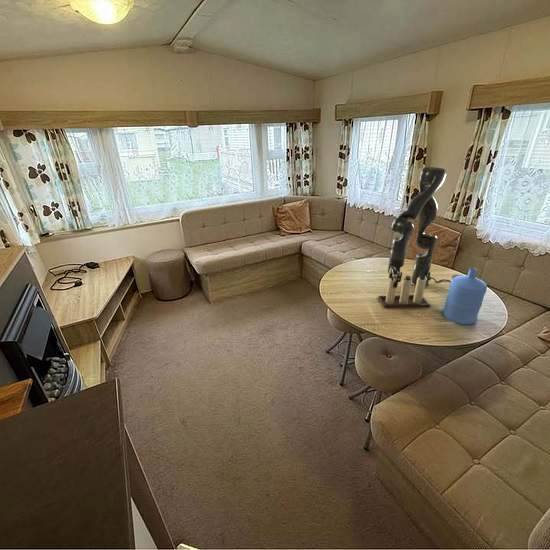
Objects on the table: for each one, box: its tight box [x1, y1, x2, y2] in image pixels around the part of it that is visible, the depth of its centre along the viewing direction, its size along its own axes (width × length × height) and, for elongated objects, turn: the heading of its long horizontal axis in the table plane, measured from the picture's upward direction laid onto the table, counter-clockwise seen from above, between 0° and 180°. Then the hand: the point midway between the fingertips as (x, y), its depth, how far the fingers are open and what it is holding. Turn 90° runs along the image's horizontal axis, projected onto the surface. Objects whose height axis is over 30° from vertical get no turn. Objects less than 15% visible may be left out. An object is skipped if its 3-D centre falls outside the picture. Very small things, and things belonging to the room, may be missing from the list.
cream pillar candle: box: [385, 276, 397, 305], centre depth 169 cm, size 5×5×16 cm
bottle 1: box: [399, 275, 412, 304], centre depth 169 cm, size 5×5×16 cm
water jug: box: [442, 267, 488, 325], centre depth 153 cm, size 16×16×28 cm
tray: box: [377, 294, 431, 309], centre depth 172 cm, size 26×11×2 cm, turn 90°
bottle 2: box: [413, 275, 427, 304], centre depth 169 cm, size 5×5×16 cm
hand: (392, 284), depth 167 cm, fingers open, 6 cm apart
